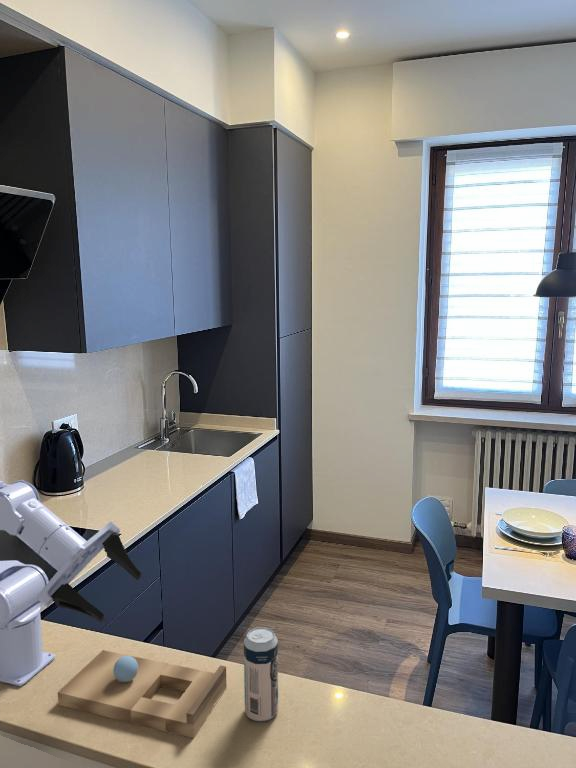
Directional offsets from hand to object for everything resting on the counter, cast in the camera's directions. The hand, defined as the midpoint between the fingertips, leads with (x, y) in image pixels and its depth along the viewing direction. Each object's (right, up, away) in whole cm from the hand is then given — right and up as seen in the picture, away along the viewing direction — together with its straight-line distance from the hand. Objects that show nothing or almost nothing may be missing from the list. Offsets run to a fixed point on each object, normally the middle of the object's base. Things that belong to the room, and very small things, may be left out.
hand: (121, 597), depth 86 cm
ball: (0, -11, +2) cm, 11 cm away
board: (+3, -15, +1) cm, 16 cm away
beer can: (+21, -16, -2) cm, 26 cm away
